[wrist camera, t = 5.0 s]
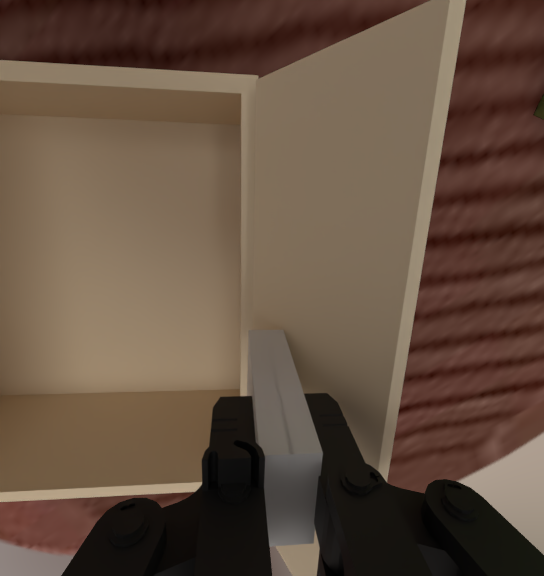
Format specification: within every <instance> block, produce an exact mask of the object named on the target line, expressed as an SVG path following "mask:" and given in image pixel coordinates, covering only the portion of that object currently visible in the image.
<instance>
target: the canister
mask: <svg viewBox="0 0 544 576" xmlns="http://www.w3.org/2000/svg"><path fill="white" fill-rule="evenodd" d="M534 115H535V116H537V117H539V118H541V119H544V94H543V96H542V98H541V100H540V102H539V104H538V106H537V108H536V111H535V113H534Z"/></svg>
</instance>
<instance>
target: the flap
mask: <svg viewBox="0 0 544 576" xmlns="http://www.w3.org/2000/svg"><path fill="white" fill-rule="evenodd" d="M465 4H466V0H431V1H428V2H426V3H424V4H422V5H420V6H417V7H415V8H413V9H411V10H409V11H406V12H404V13H402V14H400V15H398V16H395V17H393V18H391V19H389V20H387V21H384V22H382V23H380V24H378V25H376V26H373V27H371V28H369V29H367V30H365V31H362V32H360V33H358V34H356V35H354V36H351V37H349V38H347V39H345V40H343V41H340V42H338V43H336V44H334V45H332V46H329V47H327V48H325V49H323V50H321V51H318V52H316V53H314V54H312V55H310V56H307V57H305V58H303V59H301V60H299V61H296V62H294V63H292V64H290V65H288V66H285V67H283V68H281V69H279V70H277V71H274V72H272V73H270V74H268V75H266V76H263V77H261V78H259V79H257V80H256V124H255V194H254V263H253V330H284V333H285V337H286V340H287V343H288V346H289V349H290V352H291V355H292V358H293V361H294V365H295V368H296V371H297V374H298V377H299V380H300V383H301V386H302V389H303V393H304V394H305V393H328V394H329V395H330V396H331V397H332V398H333V399H334V400H335V401H337V402H338V404H339V406H340V409H341V411H342V413H343V416H344V417H345V419H346V422H347V425H348V426H349V428H350V430H351V432H352V435H353V437H354V439H355V441H356V443H357V446H358V448H359V450H360V452H361V454H362V456H363V459H364V461H365V463H366V464H369V465H371V466H372V467H373V468H375V469H376V470H377V471H379V472H380V474H381V475H382V476H383V478H384V479H385V481H386V482H387V478H388V472H389V466H390V460H391V454H392V448H393V442H394V436H395V430H396V424H397V417H398V411H399V405H400V399H401V393H402V387H403V381H404V375H405V369H406V363H407V357H408V351H409V345H410V338H411V332H412V326H413V320H414V314H415V308H416V302H417V296H418V290H419V284H420V278H421V272H422V266H423V259H424V253H425V247H426V241H427V235H428V229H429V223H430V217H431V211H432V205H433V199H434V193H435V187H436V180H437V174H438V168H439V162H440V156H441V150H442V144H443V138H444V132H445V126H446V120H447V114H448V108H449V101H450V95H451V89H452V83H453V77H454V71H455V65H456V59H457V53H458V47H459V41H460V35H461V28H462V22H463V16H464V10H465ZM275 547H276V548H277V550H278V552H279V553H280V555H281V557H282V558H283V560H284V562H285V564H286V565H287V567H288V569H289V570H290V572H291V574H292V575H293V576H317V568H318V559H319V550H320V547H319V543H318V539H317V534H316V530H315V534H314V543H313V544H300V545H286V546H275Z"/></svg>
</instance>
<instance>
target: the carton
mask: <svg viewBox="0 0 544 576" xmlns="http://www.w3.org/2000/svg"><path fill="white" fill-rule="evenodd" d="M257 79H258V75H243V74H227V73H210V72H193V71H176V70H159V69H142V68H126V67H109V66H92V65H75V64H58V63H42V62H25V61H8V60H0V502H11V501H29V500H48V499H67V498H86V497H104V496H123V495H142V494H161V493H179V492H196V491H197V490H198V489H199V487H200V486H201V485H202V458H203V455H204V452H205V450H206V449H207V448H208V447H209V442H210V432H211V422H212V411H213V406H214V405H215V404H216V402H217V401H218V399H219V398H220V397H228V396H247V373H248V330H253V263H254V194H255V124H256V80H257Z"/></svg>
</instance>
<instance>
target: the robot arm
mask: <svg viewBox="0 0 544 576" xmlns="http://www.w3.org/2000/svg"><path fill="white" fill-rule="evenodd" d="M315 530H316V534H317V539H318V543H319V547H320V550H319V559H318V568H317V576H544V555H543V554H542V553H541V552H540V551H539V550H538V549H536V547H535V546H533V545H532V544H531V543H530V542H529V541H528V540H527V539H526V538H525V537H524V536H523V535H522V534H521V533H520V532H519V531H518V530H517V529H516V528H514V527H513V526H512V525H511V524H510V523H509V522H508V521H507V520H506V519H505V518H504V517H503V516H502V515H501V514H500V513H499V512H498V511H497V510H495V509H494V508H493V507H492V506H491V505H490V504H489V503H488V502H487V501H486V500H485V499H484V498H483V497H482V496H480V495H479V494H478V493H476V492H475V491H474V490H473V489H471V488H470V487H467V486H465V485H463V484H461V483H459V482H456V481H451V480H447V479H443V480H435V481H433V482H432V483H430V484H429V485H428V486H427V489H426V491H425V494H424V493H419V492H415V491H410V490H406V489H401V488H398V487H395V486H392V485H390V484H388V483H387V482H386V481H385V479H384V478H383V476H382V475H381V474H380V472H379V471H377V470H376V469H375V468H373V467H372V466H371V465H369V464H366V463H365V461H364V459H363V456H362V454H361V452H360V450H359V448H358V446H357V443H356V441H355V439H354V437H353V435H352V432H351V430H350V428H349V426H348V425H347V422H346V419H345V417H344V416H343V413H342V411H341V409H340V406H339V404H338V402H337V401H335V400H334V399H333V398H332V397H331V396H330V395H329V394H328V393H305V394H304V393H303V389H302V386H301V383H300V380H299V377H298V374H297V371H296V368H295V365H294V361H293V358H292V355H291V352H290V349H289V346H288V343H287V340H286V337H285V333H284V330H248V373H247V396H228V397H220V398H219V399H218V401H217V402H216V404H215V405H214V406H213V411H212V422H211V432H210V442H209V447H208V448H207V449H206V450H205V452H204V455H203V458H202V485H201V486H200V487H199V489H198V490H197V491H196V492H195V493H194V494H192V495H191V496H189V497H188V498H186V499H184V500H182V501H180V502H178V503H175V504H172V505H169V506H167V507H164V508H161V507H160V505H159V504H158V503H157V502H156V501H153V500H150V499H148V498H132V499H129V500H126V501H123V502H120V503H118V504H117V505H115V506H114V507H112V508H110V509H109V510H107V511H106V512H105V514H104V515H103V516H102V517H101V518H100V519H99V520H98V521H97V523H96V524H95V526H94V527H93V529H92V530H91V532H90V533H89V535H88V536H87V538H86V539H85V541H84V542H83V544H82V545H81V547H80V548H79V550H78V551H77V553H76V554H75V556H74V557H73V559H72V560H71V562H70V563H69V565H68V566H67V568H66V569H65V571H64V572H63V574H62V575H61V576H272V569H271V558H270V548H269V547H270V546H286V545H300V544H313V543H314V534H315Z"/></svg>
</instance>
